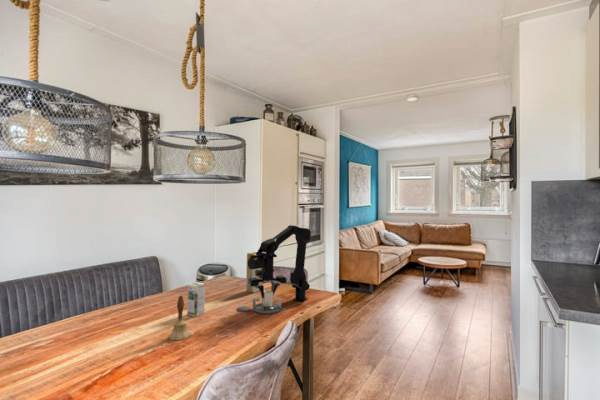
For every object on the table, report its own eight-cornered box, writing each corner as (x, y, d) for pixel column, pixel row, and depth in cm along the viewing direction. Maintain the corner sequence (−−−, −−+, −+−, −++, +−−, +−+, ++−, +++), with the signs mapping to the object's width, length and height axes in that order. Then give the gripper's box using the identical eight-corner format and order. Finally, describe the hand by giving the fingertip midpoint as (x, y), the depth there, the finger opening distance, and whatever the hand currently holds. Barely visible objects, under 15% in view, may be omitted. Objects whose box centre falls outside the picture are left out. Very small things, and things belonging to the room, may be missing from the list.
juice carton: (254, 293, 185) (255, 252, 185) (244, 291, 189) (244, 251, 189) (264, 289, 193) (264, 250, 193) (254, 287, 197) (254, 249, 197)
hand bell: (169, 333, 129) (169, 294, 129) (190, 330, 132) (191, 292, 132) (168, 342, 121) (169, 300, 121) (191, 338, 124) (191, 298, 124)
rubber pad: (242, 306, 163) (242, 305, 163) (253, 308, 159) (253, 307, 159) (233, 310, 156) (233, 309, 156) (245, 312, 153) (245, 312, 153)
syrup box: (186, 315, 149) (187, 284, 149) (196, 311, 154) (196, 281, 154) (195, 317, 147) (196, 286, 147) (204, 313, 152) (205, 283, 152)
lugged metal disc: (251, 314, 151) (252, 303, 151) (254, 304, 165) (254, 294, 165) (281, 314, 152) (281, 303, 152) (280, 304, 166) (281, 294, 166)
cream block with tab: (259, 300, 162) (259, 288, 162) (267, 299, 164) (267, 287, 164) (266, 306, 153) (266, 293, 153) (275, 305, 155) (275, 292, 155)
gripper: (279, 262, 170) (279, 291, 170) (245, 264, 162) (244, 295, 162) (287, 266, 160) (286, 297, 160) (251, 269, 152) (250, 301, 152)
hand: (267, 297), depth 159 cm, fingers closed on cream block with tab, 4 cm apart
